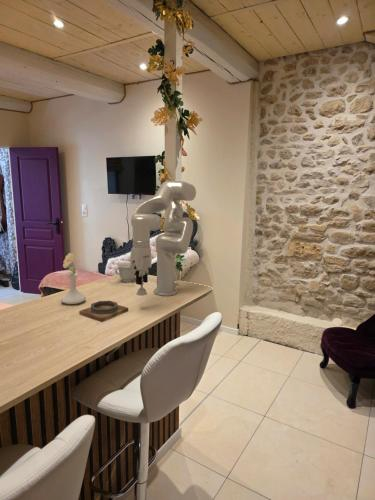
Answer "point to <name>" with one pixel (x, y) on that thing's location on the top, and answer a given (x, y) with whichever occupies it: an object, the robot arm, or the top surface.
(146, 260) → the chalice
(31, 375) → the top surface
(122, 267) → the teacup
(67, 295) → the flower in vase
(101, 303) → the display stand
